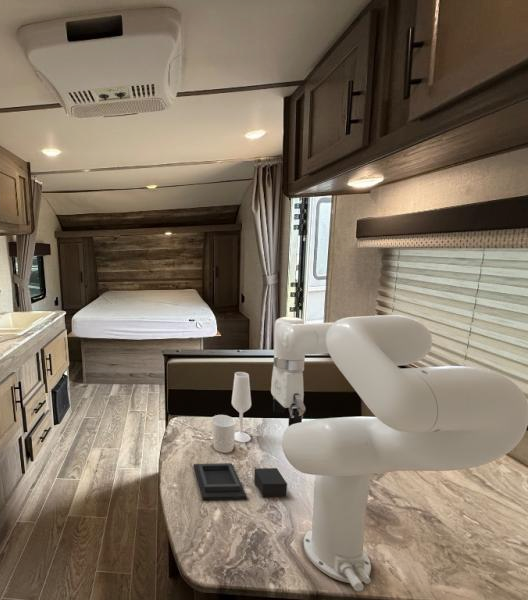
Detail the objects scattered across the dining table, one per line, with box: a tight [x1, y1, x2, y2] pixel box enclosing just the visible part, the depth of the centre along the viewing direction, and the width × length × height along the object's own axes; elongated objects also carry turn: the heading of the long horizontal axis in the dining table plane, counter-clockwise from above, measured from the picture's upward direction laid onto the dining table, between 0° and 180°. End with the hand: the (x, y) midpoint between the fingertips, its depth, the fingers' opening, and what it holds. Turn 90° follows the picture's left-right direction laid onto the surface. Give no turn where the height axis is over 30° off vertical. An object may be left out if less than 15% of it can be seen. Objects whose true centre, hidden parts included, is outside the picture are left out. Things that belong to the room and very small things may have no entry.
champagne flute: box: [231, 371, 252, 443], centre depth 118 cm, size 7×7×24 cm
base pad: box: [193, 462, 247, 501], centre depth 97 cm, size 14×12×2 cm
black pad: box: [254, 467, 288, 498], centre depth 93 cm, size 6×6×4 cm
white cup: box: [211, 414, 236, 454], centre depth 113 cm, size 8×8×10 cm
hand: (286, 420), depth 92 cm, fingers open, 9 cm apart
